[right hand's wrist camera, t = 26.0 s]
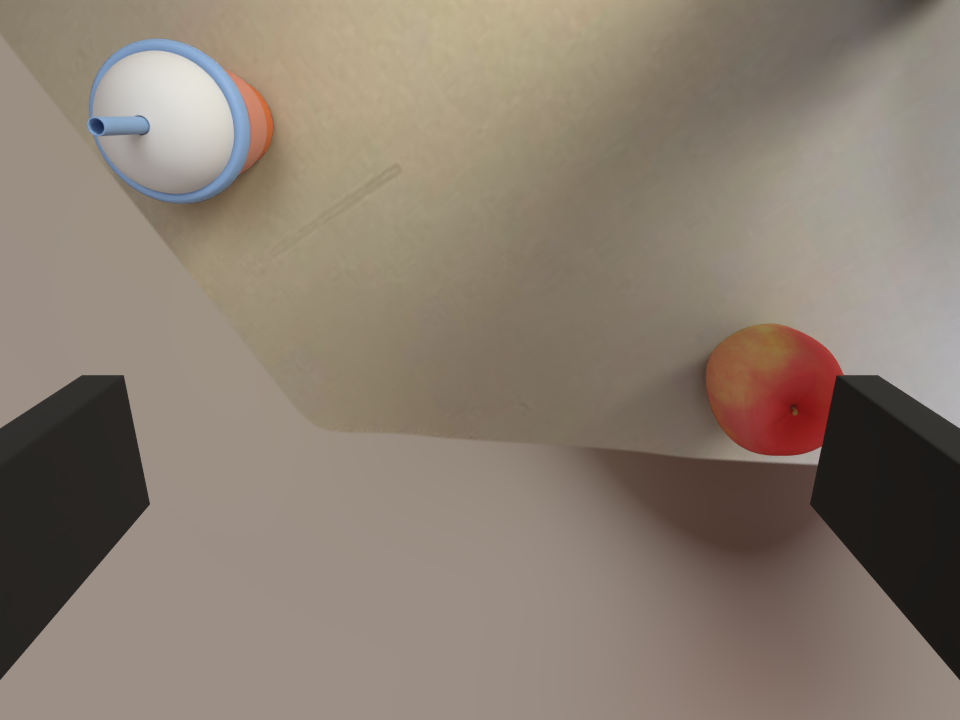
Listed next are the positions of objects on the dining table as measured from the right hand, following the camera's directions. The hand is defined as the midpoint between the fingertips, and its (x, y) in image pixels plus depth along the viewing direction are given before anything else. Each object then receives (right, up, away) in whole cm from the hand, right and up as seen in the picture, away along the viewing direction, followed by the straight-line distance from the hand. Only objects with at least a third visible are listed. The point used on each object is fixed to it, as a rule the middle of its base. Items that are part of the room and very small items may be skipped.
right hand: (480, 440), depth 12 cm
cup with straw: (-18, +19, +36) cm, 44 cm away
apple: (+22, +1, +42) cm, 48 cm away
